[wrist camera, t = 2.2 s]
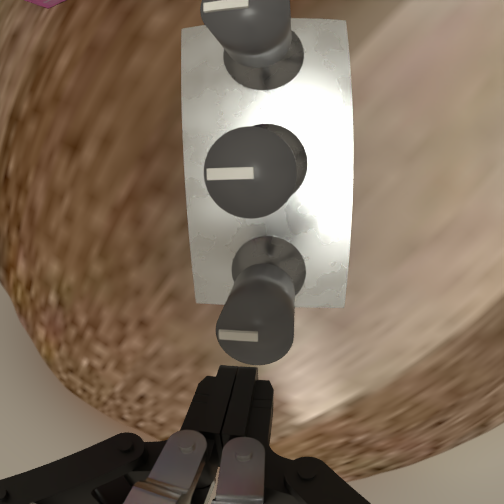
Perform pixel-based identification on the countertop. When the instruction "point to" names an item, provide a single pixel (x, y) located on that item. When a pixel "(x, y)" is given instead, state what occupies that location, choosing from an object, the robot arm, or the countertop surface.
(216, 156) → the knob mid
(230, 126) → the mount plate
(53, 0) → the gum box
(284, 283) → the knob
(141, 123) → the countertop surface
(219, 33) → the knob
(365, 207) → the countertop surface
